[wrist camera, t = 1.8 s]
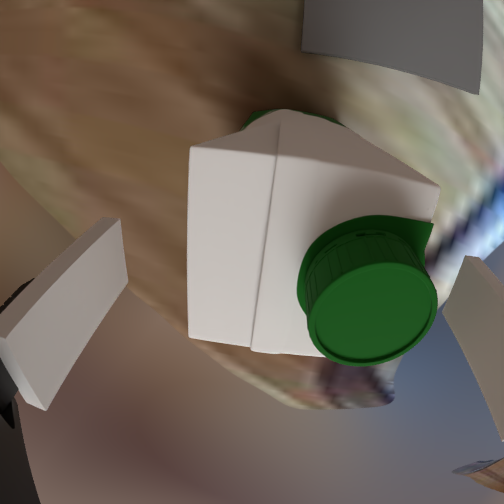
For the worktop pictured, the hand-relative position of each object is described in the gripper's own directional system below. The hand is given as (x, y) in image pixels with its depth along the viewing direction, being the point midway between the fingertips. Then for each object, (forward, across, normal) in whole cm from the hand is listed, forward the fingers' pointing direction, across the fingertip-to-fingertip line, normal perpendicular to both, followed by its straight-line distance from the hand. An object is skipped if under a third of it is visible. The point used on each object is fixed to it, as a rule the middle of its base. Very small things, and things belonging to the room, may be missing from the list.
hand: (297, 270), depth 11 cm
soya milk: (+17, 0, 0) cm, 17 cm away
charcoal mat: (+17, +8, +18) cm, 26 cm away
